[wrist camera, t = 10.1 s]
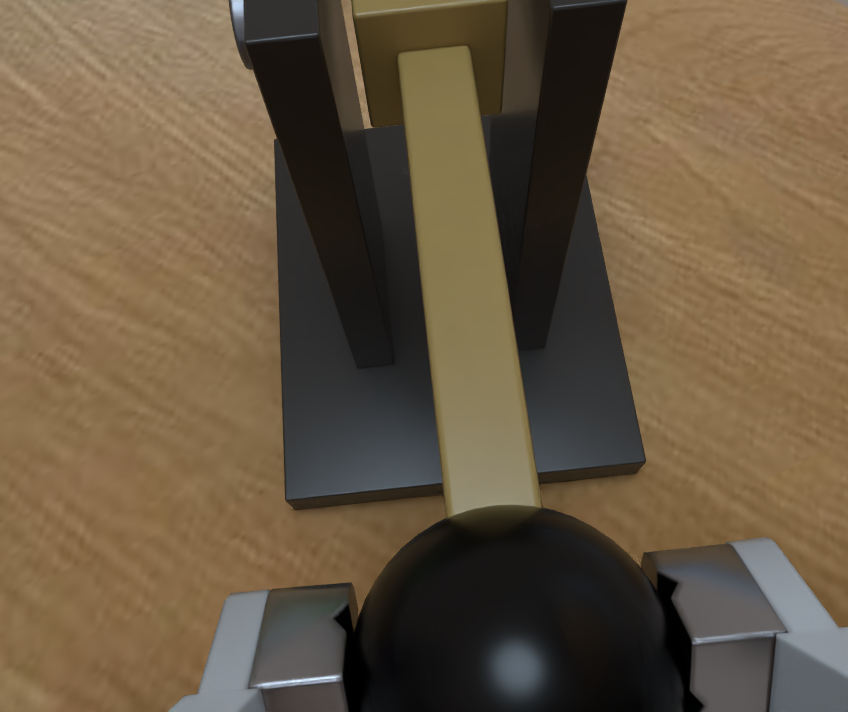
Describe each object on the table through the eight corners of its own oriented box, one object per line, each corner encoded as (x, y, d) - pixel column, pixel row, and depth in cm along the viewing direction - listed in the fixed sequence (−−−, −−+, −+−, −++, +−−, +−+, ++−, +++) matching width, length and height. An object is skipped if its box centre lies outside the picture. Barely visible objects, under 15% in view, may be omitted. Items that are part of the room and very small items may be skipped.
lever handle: (675, 820, 10) (781, 879, 6) (379, 851, 10) (333, 925, 6) (518, 15, 15) (532, -180, 12) (327, 36, 15) (287, -153, 12)
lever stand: (637, 474, 21) (862, 200, 9) (294, 510, 21) (70, 287, 9) (567, 130, 25) (659, -364, 13) (282, 162, 25) (118, -302, 13)
